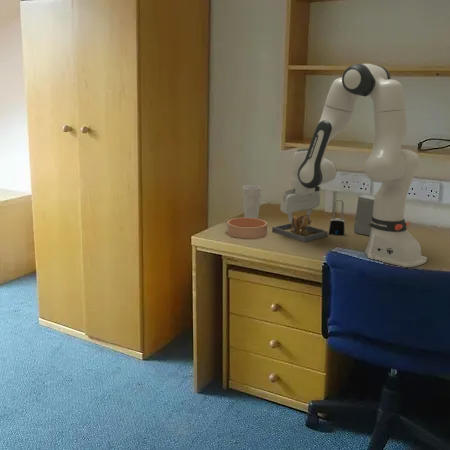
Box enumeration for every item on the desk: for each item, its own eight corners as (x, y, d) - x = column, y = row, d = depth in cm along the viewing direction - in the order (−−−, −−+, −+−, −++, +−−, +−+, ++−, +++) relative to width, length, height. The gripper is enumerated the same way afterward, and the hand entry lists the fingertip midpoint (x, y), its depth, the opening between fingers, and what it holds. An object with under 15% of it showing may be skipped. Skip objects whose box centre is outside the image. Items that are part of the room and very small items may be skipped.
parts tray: (327, 236, 241) (327, 231, 240) (303, 242, 232) (304, 237, 231) (295, 226, 254) (295, 222, 254) (272, 231, 245) (272, 227, 245)
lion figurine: (312, 237, 239) (313, 216, 236) (301, 238, 237) (302, 217, 234) (294, 228, 252) (295, 208, 249) (283, 229, 249) (284, 209, 247)
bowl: (274, 234, 242) (274, 223, 241) (245, 240, 232) (245, 230, 231) (248, 225, 254) (248, 215, 253) (219, 231, 244) (219, 221, 243)
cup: (245, 217, 268) (245, 184, 264) (262, 219, 265) (264, 185, 261) (239, 221, 260) (240, 187, 256) (257, 223, 257) (258, 189, 253)
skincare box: (353, 232, 246) (356, 196, 242) (361, 229, 251) (364, 193, 247) (371, 236, 241) (375, 199, 236) (379, 233, 246) (382, 196, 242)
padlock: (328, 234, 243) (330, 199, 239) (328, 231, 247) (331, 197, 243) (344, 235, 242) (347, 200, 238) (344, 233, 246) (347, 198, 242)
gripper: (289, 192, 229) (286, 226, 233) (323, 186, 242) (321, 218, 246) (277, 189, 234) (275, 222, 238) (312, 183, 247) (310, 215, 250)
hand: (299, 220), depth 242 cm, fingers open, 8 cm apart
